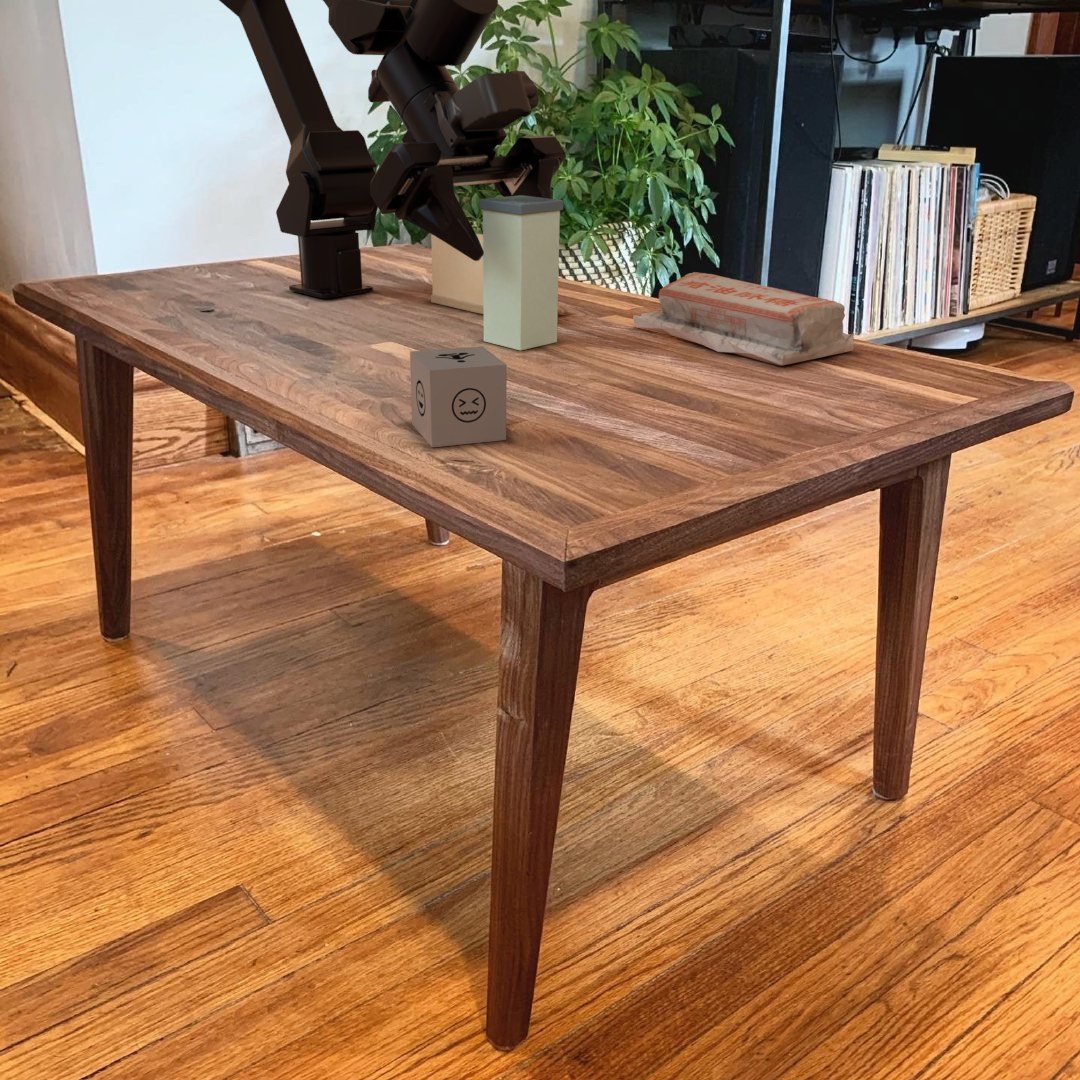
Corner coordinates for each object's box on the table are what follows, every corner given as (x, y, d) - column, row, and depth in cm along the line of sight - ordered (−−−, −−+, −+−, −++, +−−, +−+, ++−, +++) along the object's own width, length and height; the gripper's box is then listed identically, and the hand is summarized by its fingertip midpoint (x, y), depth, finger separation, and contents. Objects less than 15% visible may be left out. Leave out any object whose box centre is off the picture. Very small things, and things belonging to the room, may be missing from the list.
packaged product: (865, 296, 91) (788, 311, 85) (857, 352, 93) (782, 370, 87) (709, 265, 104) (633, 276, 98) (705, 315, 106) (630, 328, 100)
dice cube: (482, 417, 74) (482, 346, 72) (506, 439, 70) (506, 364, 68) (412, 424, 73) (409, 351, 71) (431, 447, 68) (429, 370, 66)
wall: (430, 302, 109) (428, 231, 107) (466, 295, 113) (466, 227, 110) (521, 323, 101) (522, 247, 98) (557, 315, 105) (559, 241, 102)
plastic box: (480, 341, 95) (479, 199, 90) (520, 332, 98) (521, 194, 93) (520, 351, 91) (521, 204, 87) (560, 342, 95) (563, 200, 90)
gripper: (386, 31, 82) (486, 196, 80) (553, 37, 94) (644, 181, 92) (330, 135, 90) (419, 287, 88) (491, 128, 103) (573, 262, 100)
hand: (519, 251), depth 92 cm, fingers open, 9 cm apart
